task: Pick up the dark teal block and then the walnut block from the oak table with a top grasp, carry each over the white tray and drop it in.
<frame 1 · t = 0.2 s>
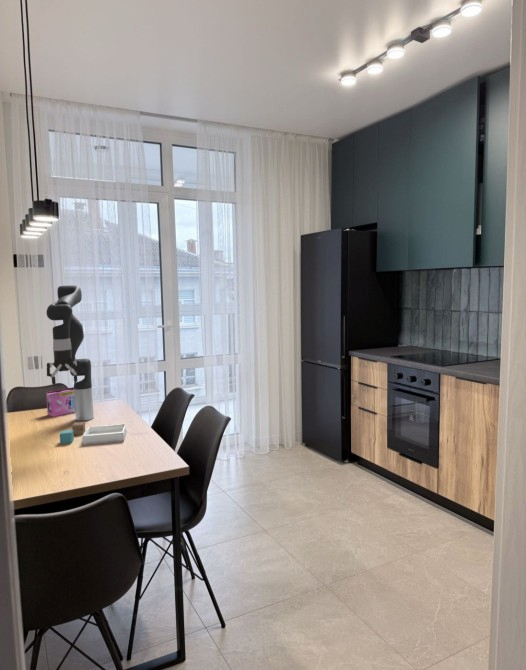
hand: (64, 384, 214), 28 cm above the table, tool pointing down, fingers open, 8 cm apart
white tray: (105, 437, 223), on the table
walnut block: (79, 433, 232), on the table
teal block: (67, 442, 219), on the table
gum box: (69, 412, 277), on the table
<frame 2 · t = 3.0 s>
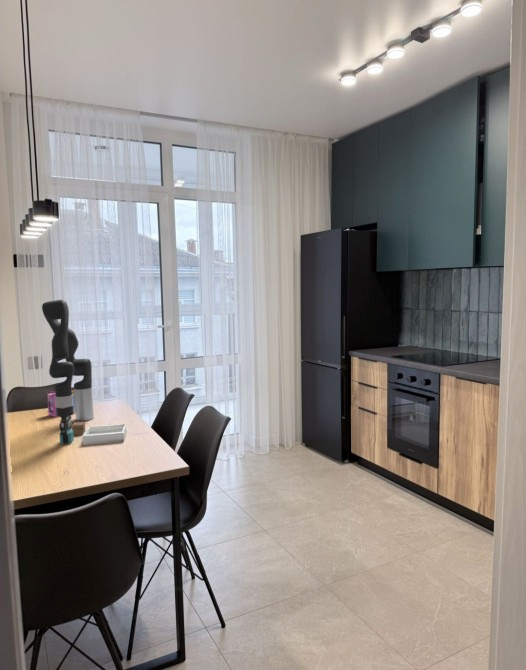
hand: (67, 441, 218), 0 cm above the table, tool pointing down, fingers closed on teal block, 5 cm apart
teal block: (67, 442, 219), on the table, touching gripper
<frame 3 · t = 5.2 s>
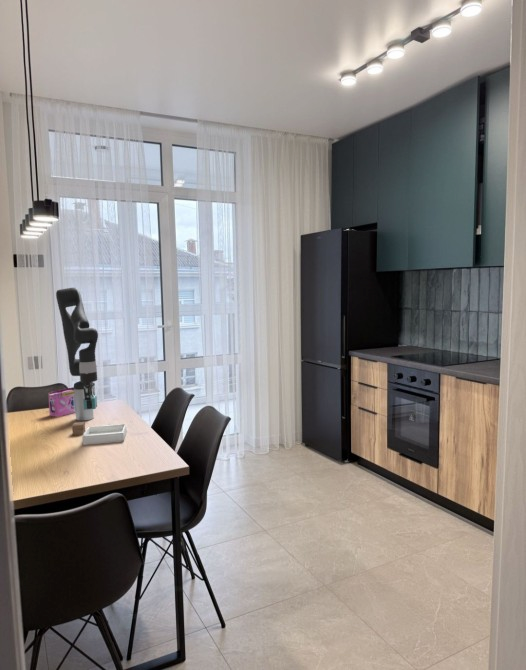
hand: (90, 407, 220), 15 cm above the table, tool pointing down, fingers closed on teal block, 5 cm apart
teal block: (90, 408, 220), point 15 cm above the table, touching gripper
when the fingers open (3 cm above the table, at t = 7.7 s): teal block drops 2 cm, resting on white tray.
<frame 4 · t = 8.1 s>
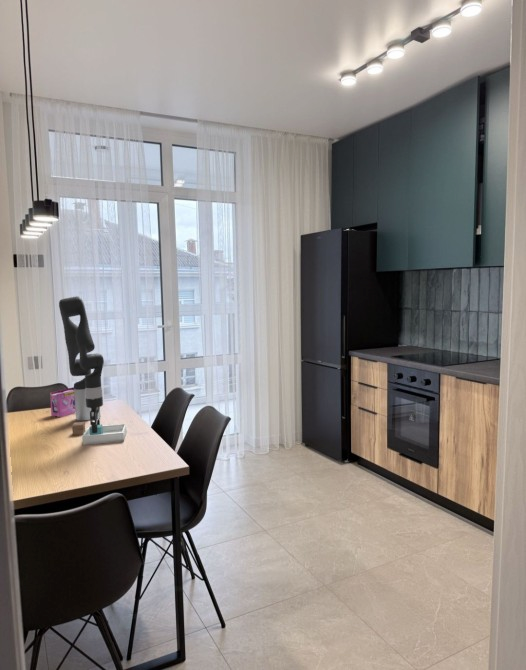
hand: (96, 430, 222), 4 cm above the table, tool pointing down, fingers open, 8 cm apart
teal block: (96, 436, 222), point 1 cm above the table, touching white tray
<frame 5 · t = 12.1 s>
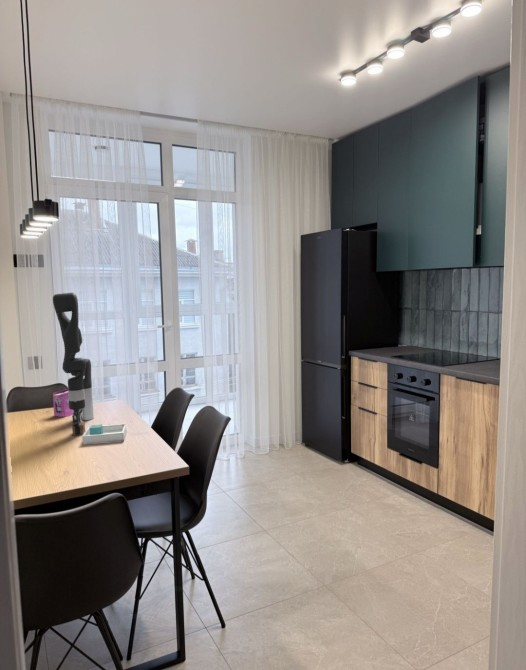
hand: (78, 432, 232), 0 cm above the table, tool pointing down, fingers closed on walnut block, 5 cm apart
walnut block: (79, 433, 232), on the table, touching gripper
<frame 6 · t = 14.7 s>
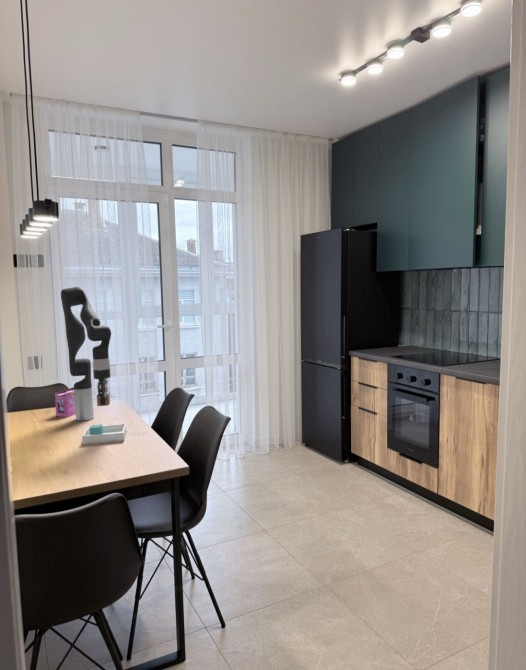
hand: (103, 403, 223), 16 cm above the table, tool pointing down, fingers closed on walnut block, 5 cm apart
walnut block: (103, 404, 223), point 16 cm above the table, touching gripper
when the fingers open (3 cm above the table, at t = 17.4 s): walnut block drops 2 cm, resting on white tray.
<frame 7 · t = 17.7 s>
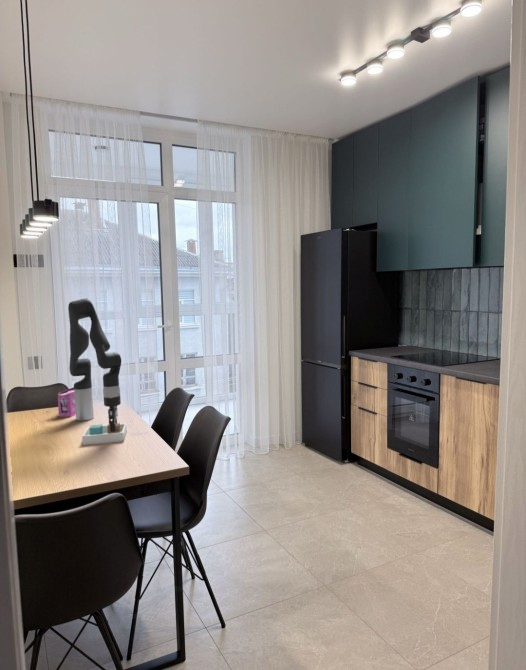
hand: (114, 429, 223), 4 cm above the table, tool pointing down, fingers open, 7 cm apart
walnut block: (114, 435, 224), point 1 cm above the table, touching white tray
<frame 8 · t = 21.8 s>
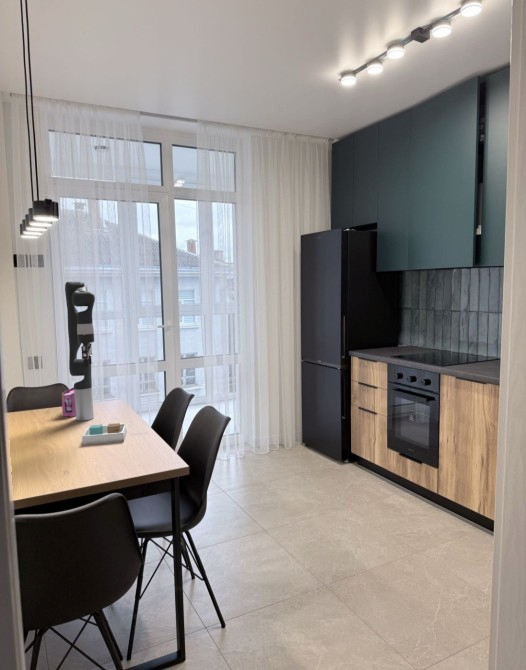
hand: (87, 365, 231), 33 cm above the table, tool pointing down, fingers open, 8 cm apart
at the end: teal block inside the target area on the white tray (4.0 cm from its centre), point 1.0 cm above the white tray's base; walnut block inside the target area on the white tray (3.9 cm from its centre), point 1.0 cm above the white tray's base; the gripper is holding nothing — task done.
